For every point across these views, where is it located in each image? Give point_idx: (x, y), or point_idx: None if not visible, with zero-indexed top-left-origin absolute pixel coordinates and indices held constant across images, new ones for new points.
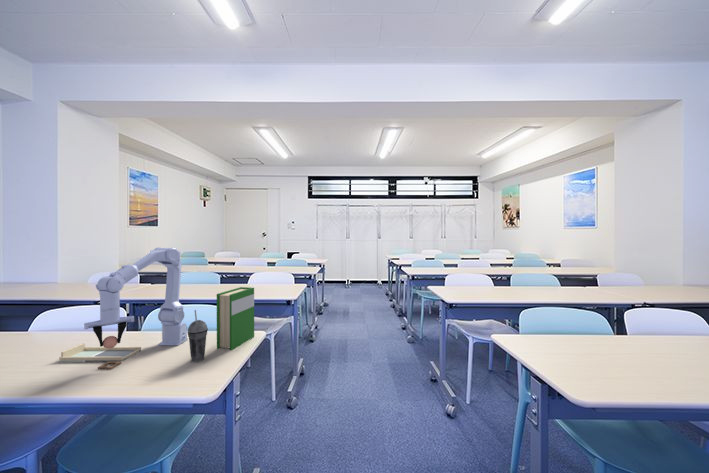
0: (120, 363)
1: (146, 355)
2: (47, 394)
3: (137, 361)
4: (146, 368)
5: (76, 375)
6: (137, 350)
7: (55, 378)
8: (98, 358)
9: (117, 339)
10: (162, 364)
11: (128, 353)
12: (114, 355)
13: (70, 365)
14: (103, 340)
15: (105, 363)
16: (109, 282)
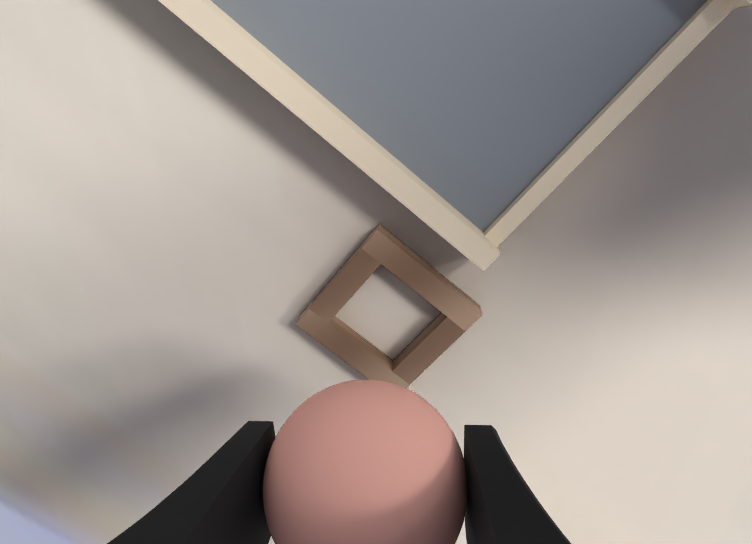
0: (469, 319)
1: (725, 223)
2: (91, 530)
3: (603, 342)
4: (616, 533)
5: (169, 338)
6: (697, 43)
7: (38, 298)
8: (277, 97)
9: (463, 520)
10: (735, 538)
11: (584, 57)
12: (437, 17)
13: (42, 2)
14: (266, 520)
15: (351, 268)
16: None
